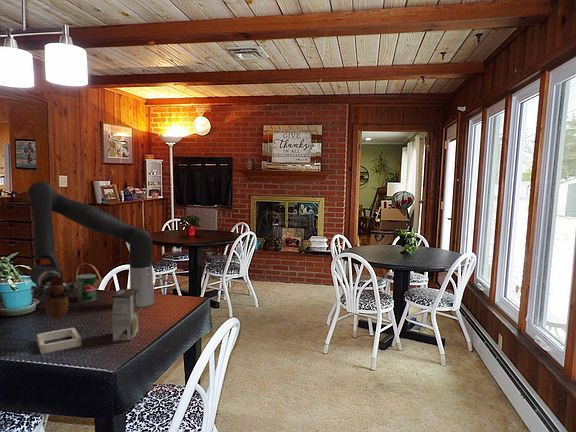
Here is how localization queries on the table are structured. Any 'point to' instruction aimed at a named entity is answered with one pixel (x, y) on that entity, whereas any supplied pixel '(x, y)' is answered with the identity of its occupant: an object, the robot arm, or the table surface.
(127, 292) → the coffee box
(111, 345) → the table surface
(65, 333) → the frame
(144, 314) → the table surface
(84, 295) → the canned tomato
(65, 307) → the wooden figurine
